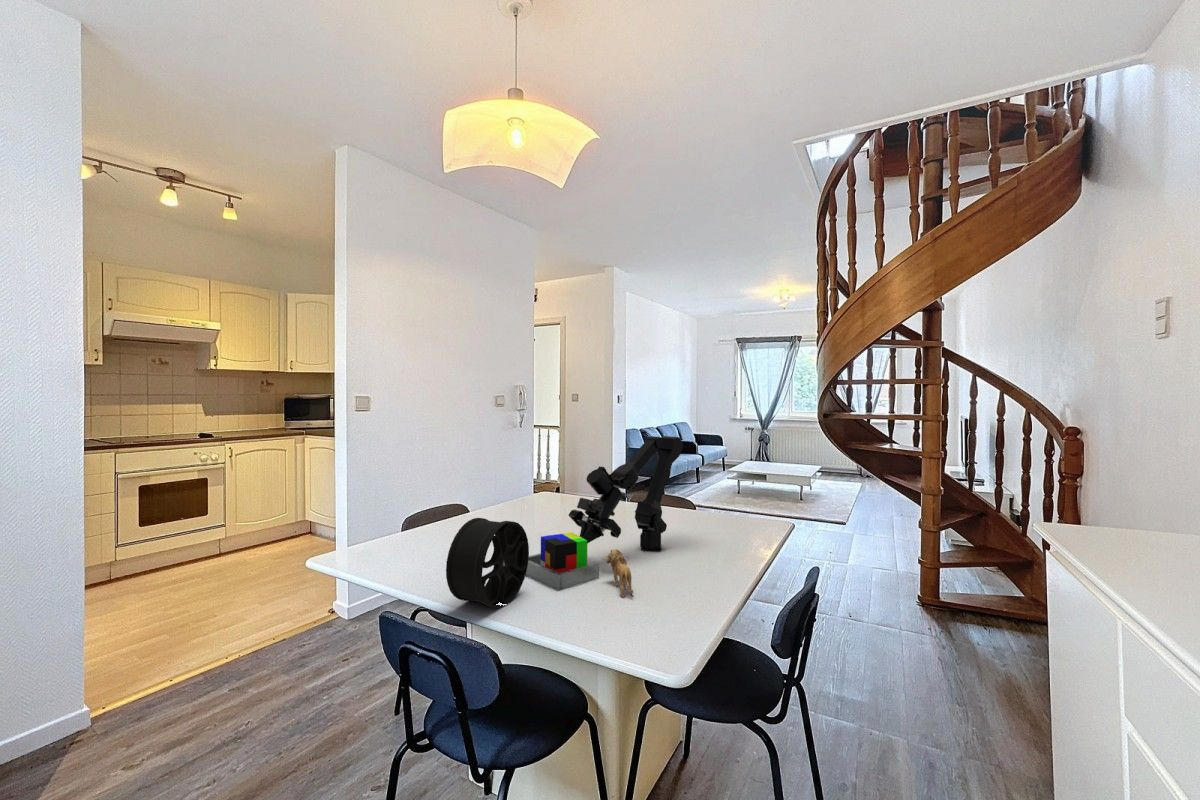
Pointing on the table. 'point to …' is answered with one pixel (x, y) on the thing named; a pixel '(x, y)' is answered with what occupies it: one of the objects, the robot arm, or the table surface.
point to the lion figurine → (620, 570)
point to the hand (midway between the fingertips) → (578, 546)
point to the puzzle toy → (563, 552)
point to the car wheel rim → (470, 561)
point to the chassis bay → (560, 574)
